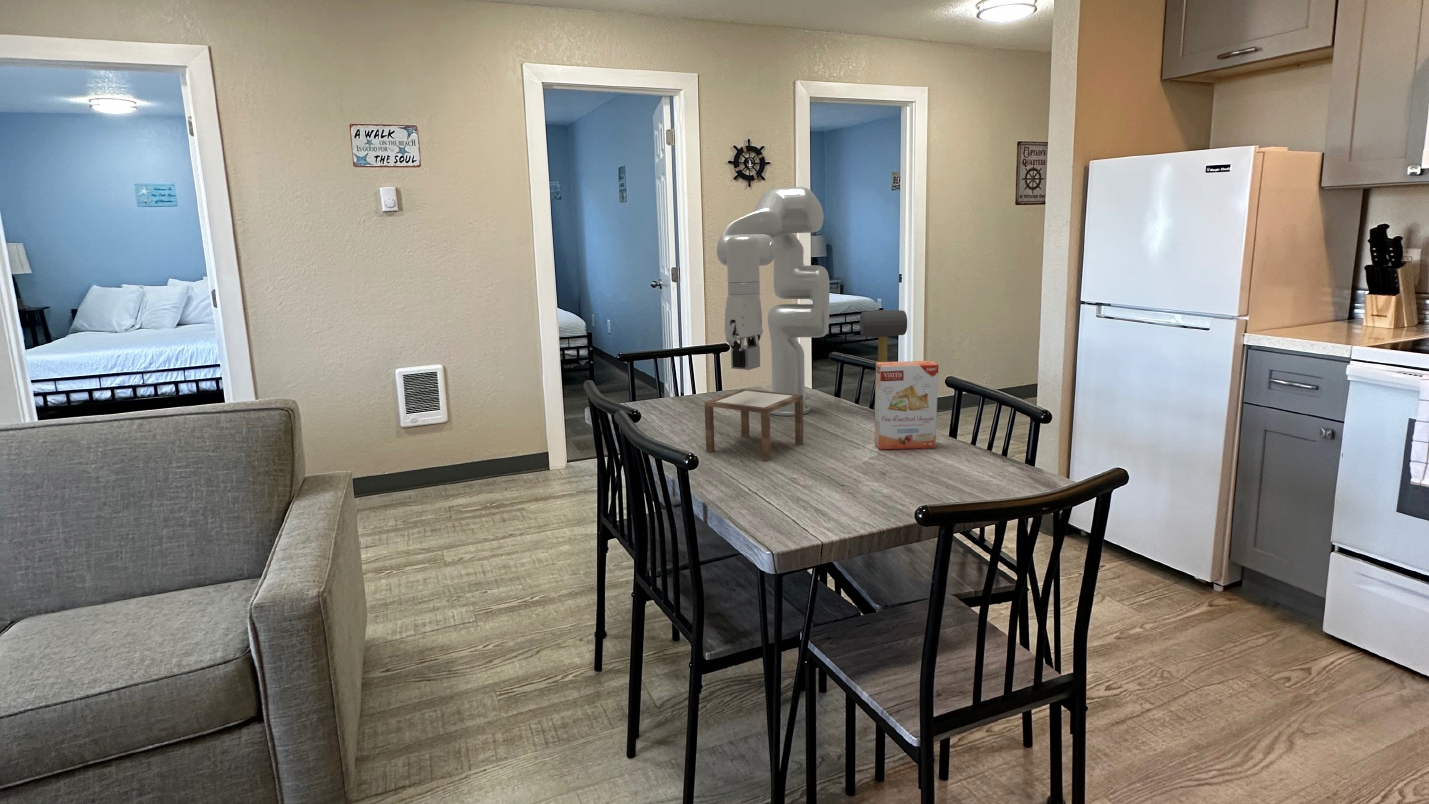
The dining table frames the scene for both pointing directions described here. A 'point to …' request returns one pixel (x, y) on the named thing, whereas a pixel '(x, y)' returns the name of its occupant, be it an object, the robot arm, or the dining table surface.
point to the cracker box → (906, 404)
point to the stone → (749, 357)
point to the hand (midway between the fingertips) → (745, 364)
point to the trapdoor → (754, 398)
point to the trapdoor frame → (745, 419)
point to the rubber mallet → (883, 327)
